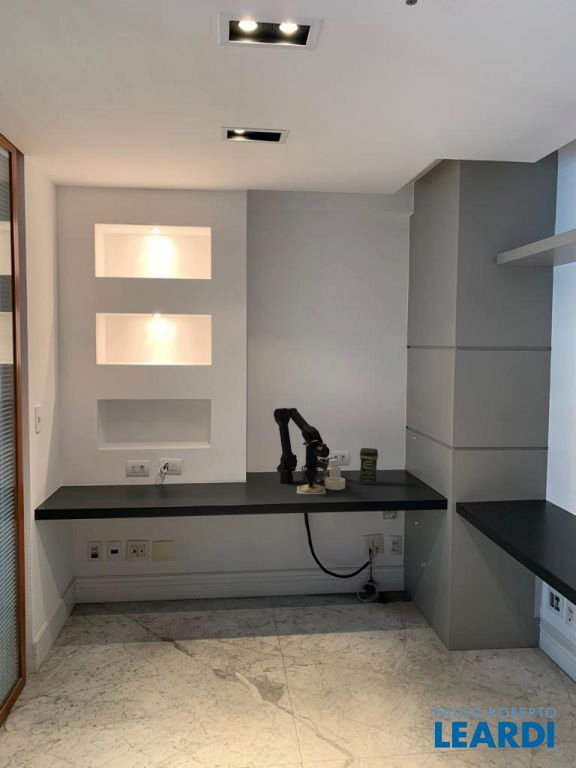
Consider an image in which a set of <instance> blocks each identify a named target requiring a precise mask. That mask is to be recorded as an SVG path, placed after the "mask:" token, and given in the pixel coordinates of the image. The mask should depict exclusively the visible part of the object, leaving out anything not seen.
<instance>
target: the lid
mask: <svg viewBox="0 0 576 768" xmlns="http://www.w3.org/2000/svg"><path fill="white" fill-rule="evenodd" d="M307 483H308V484H302V485H299V486H300V487H299V490H300V491H301V492H305V493H318V492H322V491H323V487H322V485H320V484H315V480H314V481H313V486H312V487H310V485H309V482H308V481H307Z"/></svg>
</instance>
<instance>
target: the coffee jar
mask: <svg viewBox="0 0 576 768" xmlns="http://www.w3.org/2000/svg"><path fill="white" fill-rule="evenodd" d="M378 453H379V451H378V449H377V448H373V447H371V448H369V447H362V448H360V451H359V460H360V467H359V468H360V469H359V477H358V483H359V484H362V485H368V484H369V486H372V485H377V483H379V482H378V480H379V479H378V467H377V466H378V459H379V454H378Z"/></svg>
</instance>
